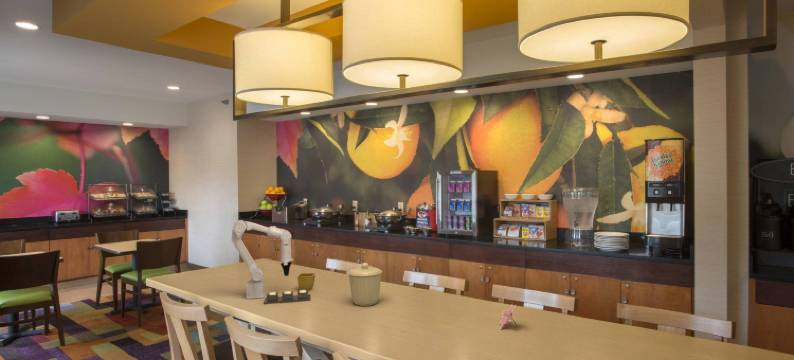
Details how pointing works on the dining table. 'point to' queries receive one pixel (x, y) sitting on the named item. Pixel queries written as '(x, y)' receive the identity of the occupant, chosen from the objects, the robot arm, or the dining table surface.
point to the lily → (507, 315)
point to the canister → (365, 284)
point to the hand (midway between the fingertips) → (286, 275)
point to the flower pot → (306, 281)
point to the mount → (287, 298)
